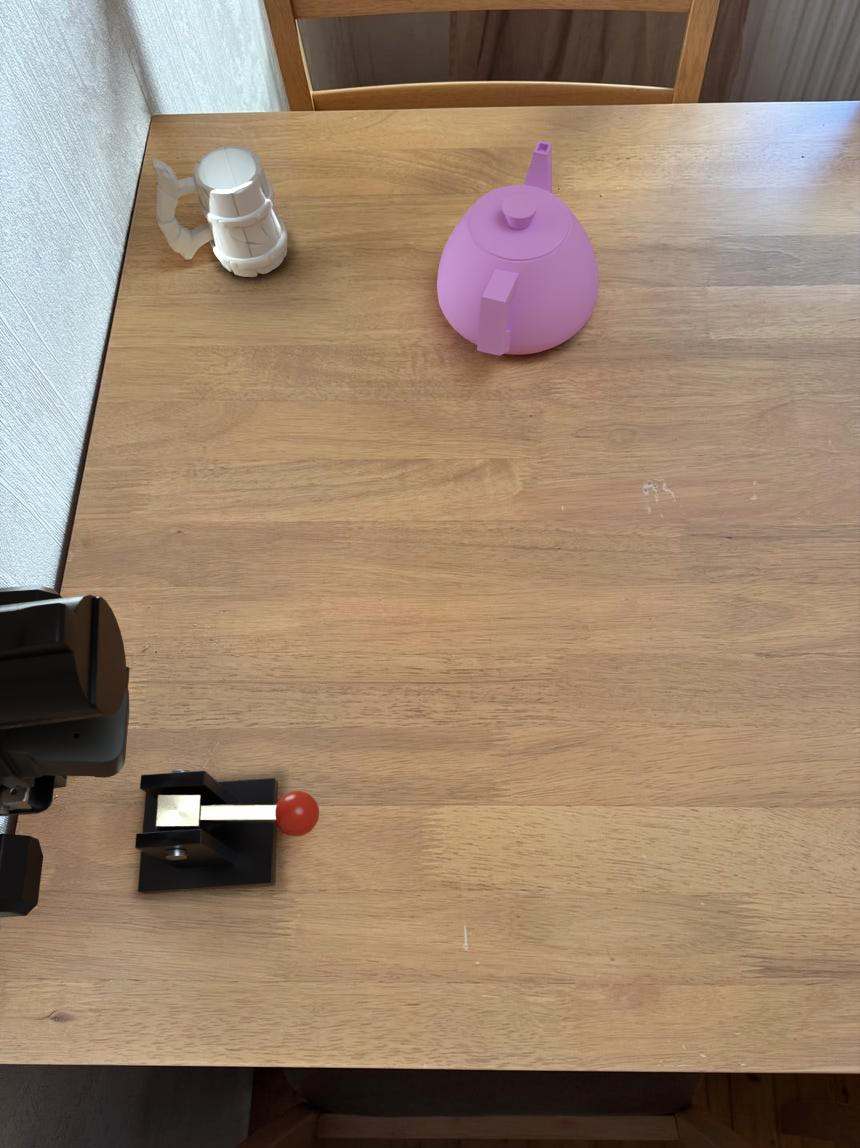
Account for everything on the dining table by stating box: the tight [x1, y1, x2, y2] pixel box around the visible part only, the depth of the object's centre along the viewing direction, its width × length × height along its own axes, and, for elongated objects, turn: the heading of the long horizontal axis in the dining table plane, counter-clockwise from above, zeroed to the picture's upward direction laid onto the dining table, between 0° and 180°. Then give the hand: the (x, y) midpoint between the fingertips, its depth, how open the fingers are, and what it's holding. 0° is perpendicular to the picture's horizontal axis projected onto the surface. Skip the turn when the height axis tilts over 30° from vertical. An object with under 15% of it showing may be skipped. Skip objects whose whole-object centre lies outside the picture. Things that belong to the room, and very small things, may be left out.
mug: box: [151, 144, 289, 278], centre depth 88 cm, size 8×12×12 cm, turn 107°
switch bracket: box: [134, 769, 279, 895], centre depth 66 cm, size 10×8×10 cm
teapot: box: [436, 139, 600, 357], centre depth 85 cm, size 22×16×12 cm
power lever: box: [156, 790, 320, 837], centre depth 64 cm, size 11×3×3 cm, turn 94°
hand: (59, 781), depth 59 cm, fingers closed
